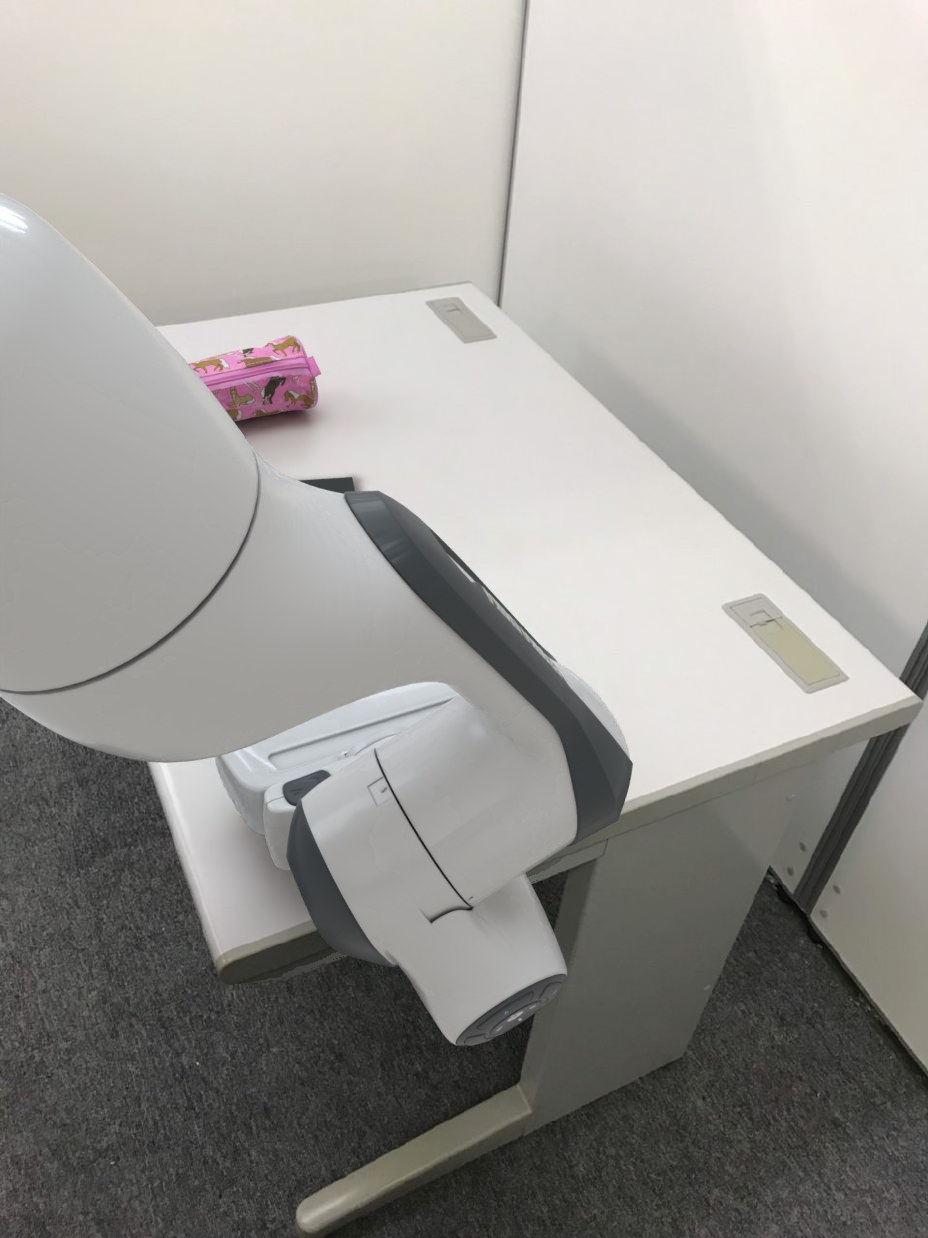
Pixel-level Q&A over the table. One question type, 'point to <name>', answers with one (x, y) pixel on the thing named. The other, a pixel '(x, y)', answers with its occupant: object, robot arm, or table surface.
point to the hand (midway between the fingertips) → (329, 657)
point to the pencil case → (262, 379)
